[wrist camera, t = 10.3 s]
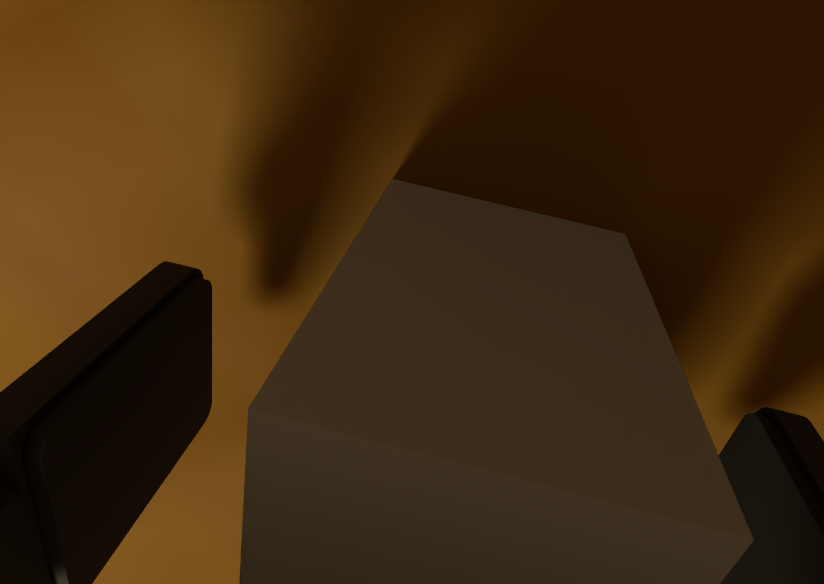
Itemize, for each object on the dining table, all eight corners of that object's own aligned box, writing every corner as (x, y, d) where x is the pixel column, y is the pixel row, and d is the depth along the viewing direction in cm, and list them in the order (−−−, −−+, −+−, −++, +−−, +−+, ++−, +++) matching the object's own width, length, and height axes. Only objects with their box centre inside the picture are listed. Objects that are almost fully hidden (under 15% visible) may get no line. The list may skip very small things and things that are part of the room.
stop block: (625, 232, 9) (754, 539, 4) (523, 477, 12) (527, 830, 7) (393, 177, 10) (249, 408, 4) (348, 431, 13) (231, 744, 7)
